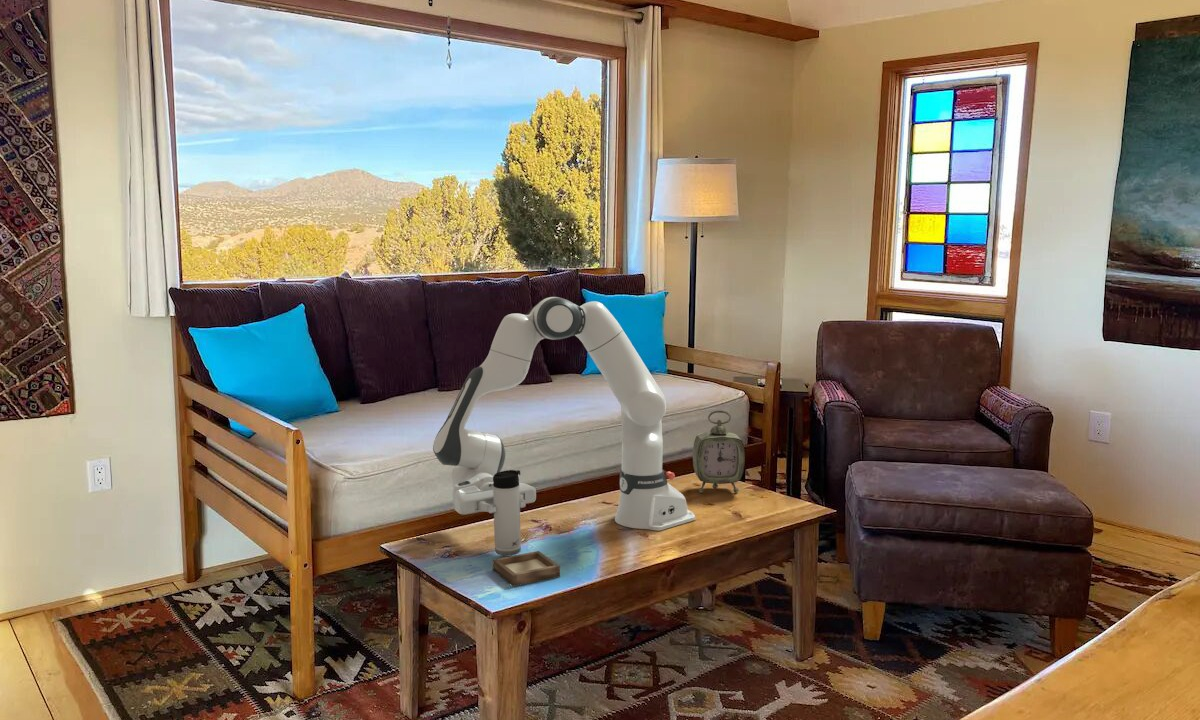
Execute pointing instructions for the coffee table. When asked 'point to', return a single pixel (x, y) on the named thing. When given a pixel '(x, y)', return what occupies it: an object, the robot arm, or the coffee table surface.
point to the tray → (526, 568)
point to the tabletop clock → (718, 455)
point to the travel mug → (507, 512)
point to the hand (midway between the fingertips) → (508, 507)
